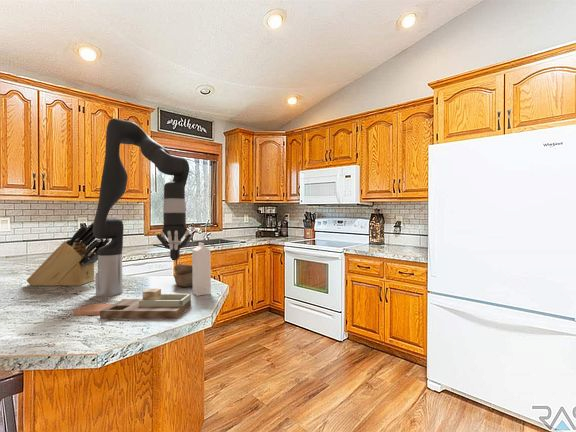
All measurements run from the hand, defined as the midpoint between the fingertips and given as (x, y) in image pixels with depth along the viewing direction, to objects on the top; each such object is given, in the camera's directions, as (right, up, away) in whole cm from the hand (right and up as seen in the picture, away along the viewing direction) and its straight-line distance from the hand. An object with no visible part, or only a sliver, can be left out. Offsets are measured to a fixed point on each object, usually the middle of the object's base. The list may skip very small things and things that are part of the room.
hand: (175, 260), depth 111 cm
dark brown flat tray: (-9, -18, -2) cm, 20 cm away
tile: (-28, -18, -1) cm, 34 cm away
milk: (+3, -18, +23) cm, 29 cm away
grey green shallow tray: (-3, -15, 0) cm, 16 cm away
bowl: (-9, -18, +37) cm, 42 cm away
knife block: (-67, -18, +42) cm, 82 cm away
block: (-8, -15, 0) cm, 18 cm away
